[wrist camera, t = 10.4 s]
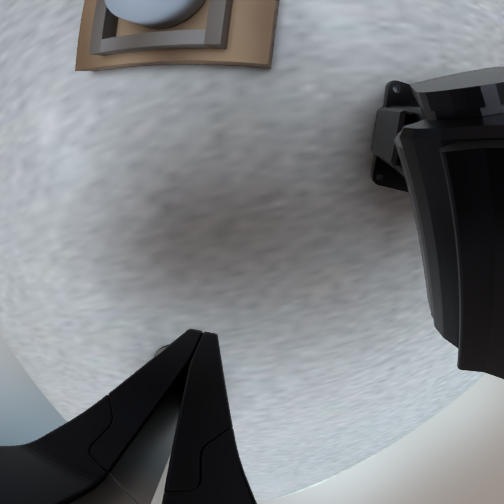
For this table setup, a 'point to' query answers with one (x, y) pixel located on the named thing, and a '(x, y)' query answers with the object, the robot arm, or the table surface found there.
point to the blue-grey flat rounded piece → (154, 11)
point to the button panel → (180, 37)
